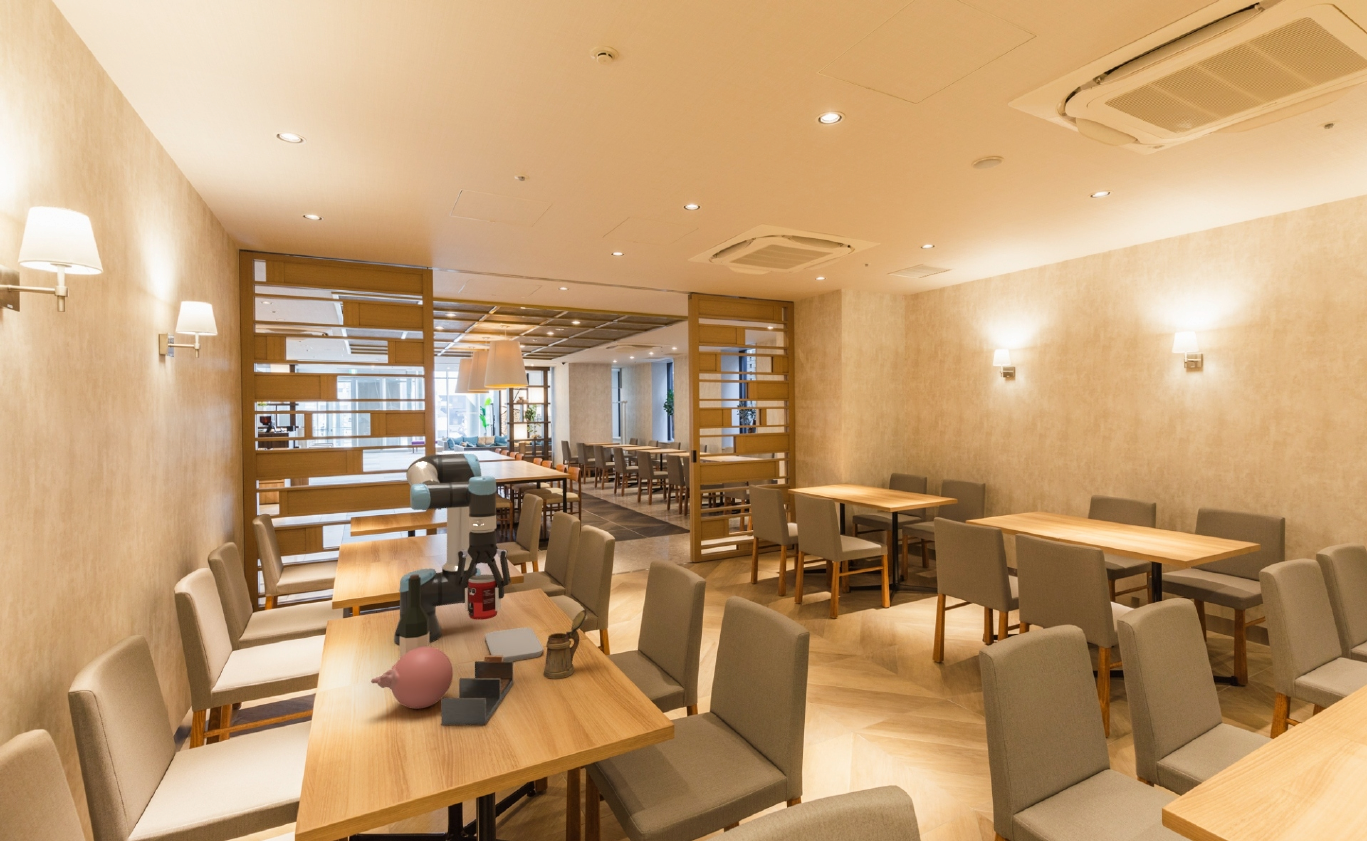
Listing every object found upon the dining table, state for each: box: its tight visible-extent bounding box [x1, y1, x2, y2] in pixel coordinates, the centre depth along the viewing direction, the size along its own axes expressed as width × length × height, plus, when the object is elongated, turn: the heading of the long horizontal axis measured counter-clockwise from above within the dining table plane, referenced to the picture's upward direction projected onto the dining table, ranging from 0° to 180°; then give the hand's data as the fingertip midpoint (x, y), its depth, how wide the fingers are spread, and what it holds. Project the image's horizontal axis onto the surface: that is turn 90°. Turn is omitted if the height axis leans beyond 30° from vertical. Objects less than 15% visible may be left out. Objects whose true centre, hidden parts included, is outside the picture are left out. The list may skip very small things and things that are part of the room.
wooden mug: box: [542, 608, 588, 680], centre depth 187 cm, size 9×14×18 cm, turn 118°
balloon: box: [370, 646, 454, 709], centre depth 163 cm, size 15×20×15 cm
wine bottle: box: [399, 574, 430, 659], centre depth 184 cm, size 8×8×30 cm
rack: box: [440, 654, 514, 726], centre depth 166 cm, size 25×11×8 cm, turn 179°
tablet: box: [484, 626, 544, 662], centre depth 207 cm, size 16×26×2 cm, turn 24°
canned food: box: [468, 574, 498, 621], centre depth 176 cm, size 8×8×11 cm
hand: (483, 609), depth 176 cm, fingers closed on canned food, 8 cm apart
